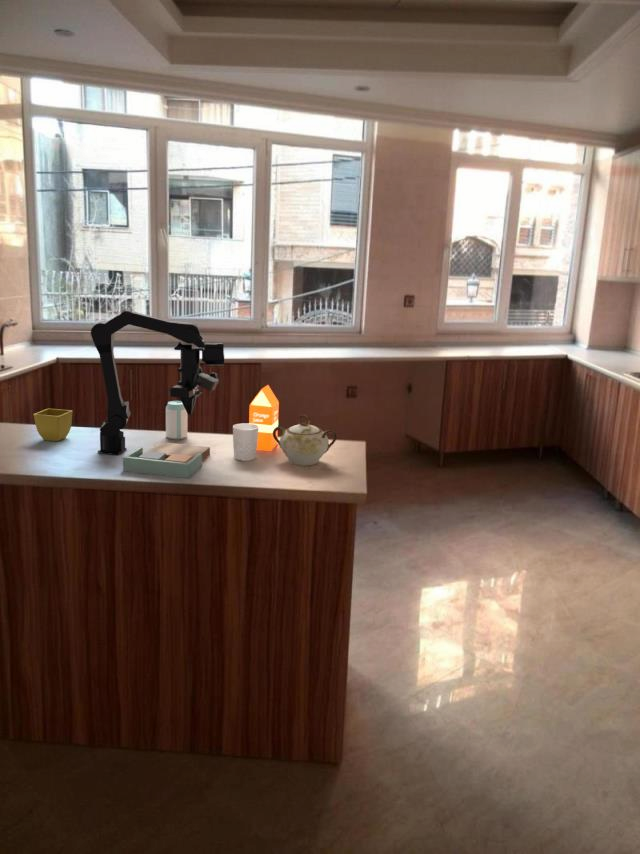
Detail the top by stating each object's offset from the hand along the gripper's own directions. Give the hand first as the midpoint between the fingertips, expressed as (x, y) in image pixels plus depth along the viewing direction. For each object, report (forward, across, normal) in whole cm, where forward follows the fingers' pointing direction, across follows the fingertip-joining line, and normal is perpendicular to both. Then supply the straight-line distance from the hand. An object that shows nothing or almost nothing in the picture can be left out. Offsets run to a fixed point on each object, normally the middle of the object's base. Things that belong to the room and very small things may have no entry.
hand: (189, 414), depth 205 cm
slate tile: (+11, -16, +5) cm, 20 cm away
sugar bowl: (+12, +2, -36) cm, 38 cm away
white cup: (+12, 0, -18) cm, 22 cm away
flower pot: (+12, -2, +45) cm, 47 cm away
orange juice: (+12, +14, -20) cm, 27 cm away
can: (+12, +14, +10) cm, 21 cm away
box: (+12, -18, +1) cm, 22 cm away
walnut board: (+12, -7, +1) cm, 14 cm away
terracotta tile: (+11, -16, -3) cm, 20 cm away
